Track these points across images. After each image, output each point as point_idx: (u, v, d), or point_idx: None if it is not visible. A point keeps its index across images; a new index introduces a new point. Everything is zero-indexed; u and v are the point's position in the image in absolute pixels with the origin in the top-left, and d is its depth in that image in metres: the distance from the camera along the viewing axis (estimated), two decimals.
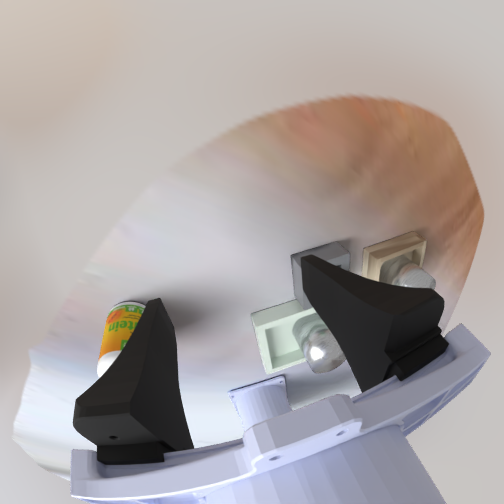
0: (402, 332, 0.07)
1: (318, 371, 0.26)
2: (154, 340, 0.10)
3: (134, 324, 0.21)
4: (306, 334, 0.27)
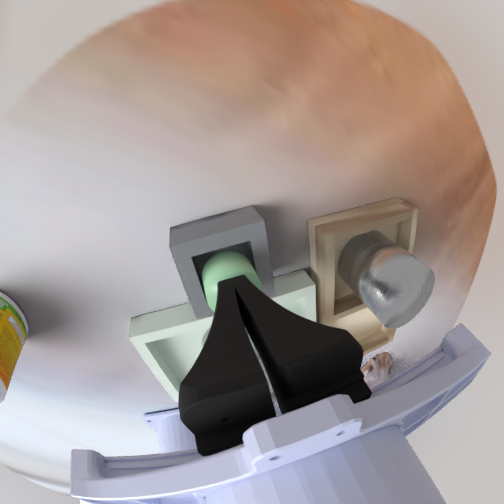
0: (295, 380, 0.06)
1: None
2: None
3: None
4: None
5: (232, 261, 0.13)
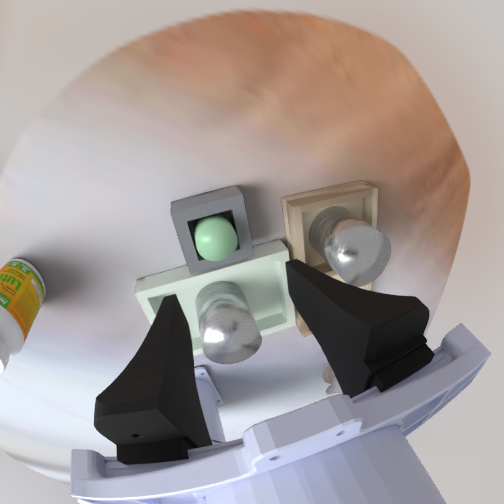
0: (382, 343, 0.07)
1: (218, 360, 0.20)
2: (173, 335, 0.10)
3: (8, 277, 0.15)
4: (202, 309, 0.21)
5: (215, 218, 0.18)
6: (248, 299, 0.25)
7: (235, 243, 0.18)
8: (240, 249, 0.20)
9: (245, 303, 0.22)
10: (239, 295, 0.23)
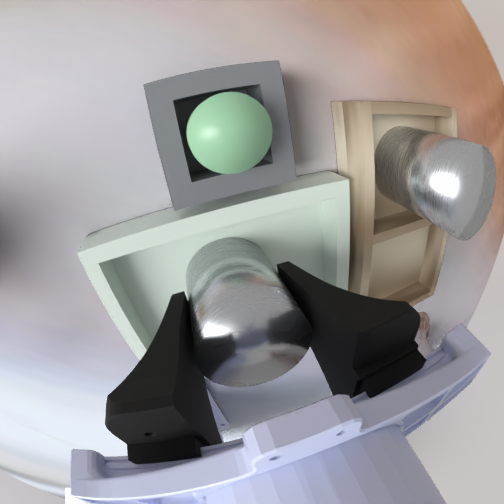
0: (369, 349, 0.07)
1: (228, 382, 0.10)
2: (183, 333, 0.10)
3: None
4: (196, 285, 0.11)
5: None
6: None
7: (267, 138, 0.09)
8: (272, 164, 0.10)
9: (277, 273, 0.12)
10: (265, 259, 0.13)
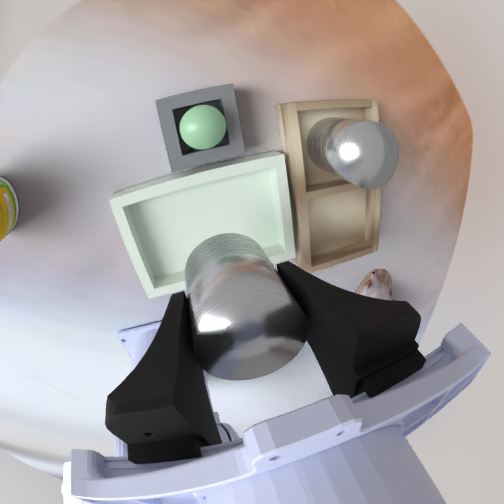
0: (369, 349, 0.07)
1: (225, 375, 0.11)
2: (183, 333, 0.10)
3: None
4: (195, 279, 0.12)
5: None
6: (240, 222, 0.22)
7: (223, 129, 0.15)
8: (229, 144, 0.17)
9: (274, 268, 0.12)
10: (262, 254, 0.13)
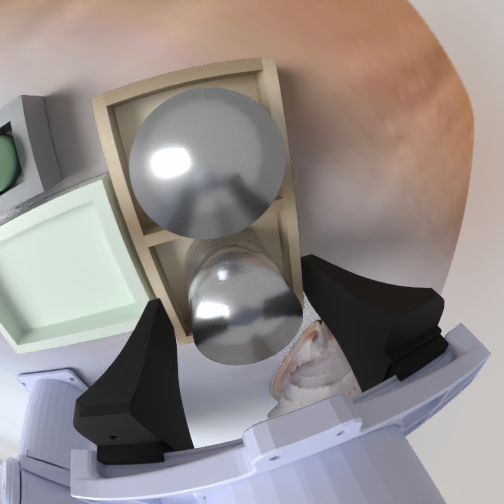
0: (402, 332, 0.07)
1: (224, 359, 0.11)
2: (154, 340, 0.10)
3: None
4: (194, 268, 0.12)
5: None
6: (84, 275, 0.14)
7: (0, 166, 0.07)
8: (25, 181, 0.09)
9: (269, 256, 0.13)
10: (258, 243, 0.13)
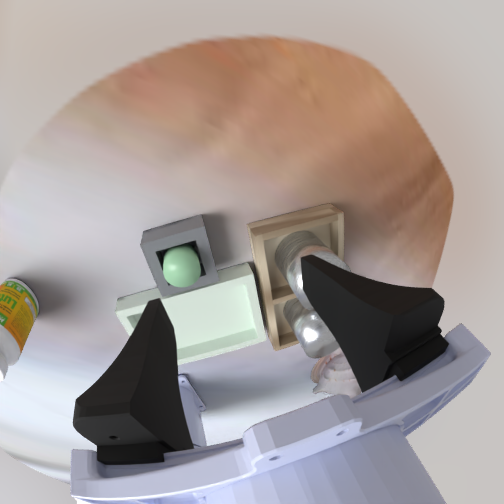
0: (402, 332, 0.07)
1: (314, 355, 0.24)
2: (154, 340, 0.10)
3: (5, 297, 0.16)
4: (298, 314, 0.25)
5: (180, 249, 0.20)
6: (220, 317, 0.27)
7: (198, 271, 0.20)
8: (206, 275, 0.22)
9: None
10: None
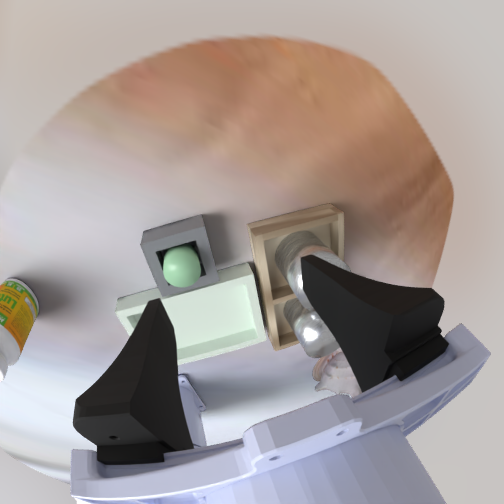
0: (402, 332, 0.07)
1: (313, 355, 0.24)
2: (154, 340, 0.10)
3: (5, 297, 0.16)
4: (299, 312, 0.25)
5: (180, 249, 0.20)
6: (220, 317, 0.27)
7: (198, 271, 0.20)
8: (206, 275, 0.22)
9: None
10: None
